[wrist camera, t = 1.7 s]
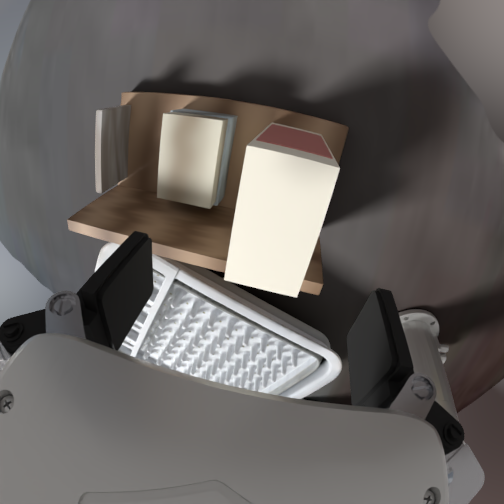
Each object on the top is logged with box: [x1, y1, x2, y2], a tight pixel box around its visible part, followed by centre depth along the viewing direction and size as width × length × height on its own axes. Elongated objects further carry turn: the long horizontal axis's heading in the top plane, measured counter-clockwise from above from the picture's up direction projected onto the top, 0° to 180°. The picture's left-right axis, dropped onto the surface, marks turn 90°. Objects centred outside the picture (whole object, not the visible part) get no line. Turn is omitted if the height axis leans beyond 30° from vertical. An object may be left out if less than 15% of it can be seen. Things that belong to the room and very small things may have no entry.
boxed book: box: [224, 123, 340, 298], centre depth 22 cm, size 5×9×14 cm, turn 171°
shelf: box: [67, 92, 349, 295], centre depth 25 cm, size 25×13×12 cm, turn 80°
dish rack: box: [95, 242, 342, 399], centre depth 43 cm, size 32×37×8 cm
